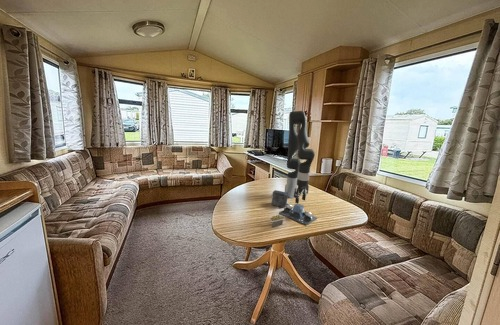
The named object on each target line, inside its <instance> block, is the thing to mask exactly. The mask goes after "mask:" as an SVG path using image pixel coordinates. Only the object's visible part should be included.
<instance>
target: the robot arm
mask: <svg viewBox="0 0 500 325" xmlns="http://www.w3.org/2000/svg"><path fill="white" fill-rule="evenodd" d="M288 115H289V117H288V129H289V130H288V143H287V149H288V150H287V160H286V168H287V169H289V170H294V171H290V172H288V173H287V176H286V183H285V185H284V186H285V187H284V192H287V193H288V196H287V198H291V199H294V198H295V204H300V203H299V201H300V196H302V197H301V200H302V201H306V196H307V195H308V194H309V188H310V186H309V183H310V182H309V181H310V171H311V166H312V164H313V161H314V158H315V154H316V152H315V150H314V149H312V148H308V147H309V146H310V142H309V136H308V131H307V127H308V126H307V117H306V113H305V111H304V110H297V111H295V110H293V111H290V112H289V114H288ZM295 125H301V126H300V129H299V130H298V131H296V129H295ZM296 152H297V157H298V158H296V157H294V158H293V155H295V154H296ZM301 160H302V161H303V160H304V161H303V162H301Z"/></svg>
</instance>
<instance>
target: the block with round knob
mask: <svg viewBox="0 0 500 325" xmlns="http://www.w3.org/2000/svg"><path fill="white" fill-rule="evenodd" d="M293 206H294V207H293V209H294V213H295V214H297V215H300V216H302V215H303V212H305V205H303V204H301V203H298V204H297V203H295V204H294V205H293Z"/></svg>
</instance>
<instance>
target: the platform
mask: <svg viewBox="0 0 500 325" xmlns="http://www.w3.org/2000/svg"><path fill="white" fill-rule="evenodd" d="M284 220H286V217H285V216H282V215H281V214H277V215H273V216H271V217H270V222H272V224H271V228H274V227H278V226H282V225H283V221H284Z"/></svg>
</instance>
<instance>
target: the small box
mask: <svg viewBox="0 0 500 325" xmlns="http://www.w3.org/2000/svg"><path fill="white" fill-rule="evenodd" d="M271 196H272V198H271V206H275V207H279V208H283V209H284V208H286V207H285V206H286V204H288V197H287V196H288V193H287V192H285V191H281V190H276V189H275V190H274V191H273V192H272V195H271Z"/></svg>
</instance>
